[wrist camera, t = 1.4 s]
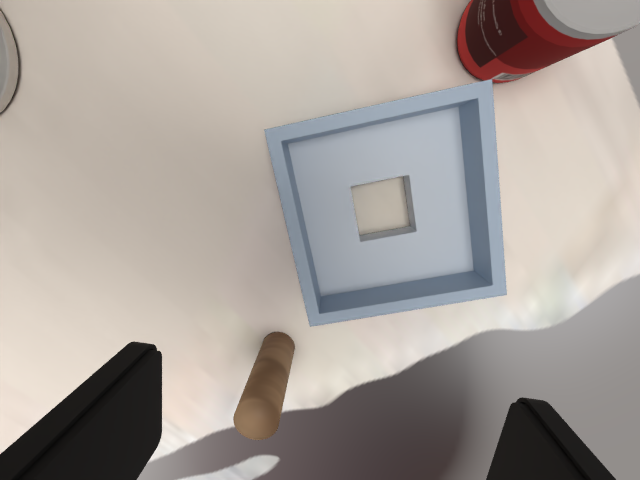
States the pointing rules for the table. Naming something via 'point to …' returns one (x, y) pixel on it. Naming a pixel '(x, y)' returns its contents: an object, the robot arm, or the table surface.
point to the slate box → (422, 201)
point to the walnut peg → (265, 388)
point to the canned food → (536, 33)
